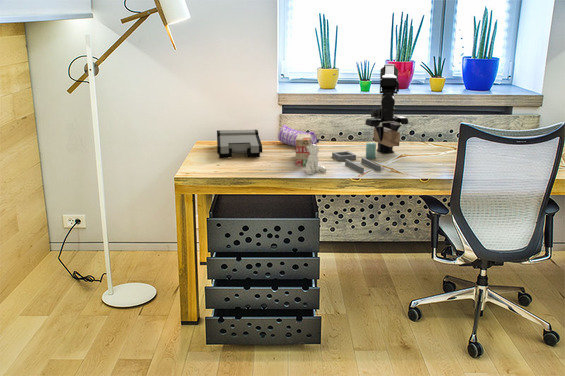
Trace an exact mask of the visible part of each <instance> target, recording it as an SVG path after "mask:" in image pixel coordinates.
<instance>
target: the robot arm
mask: <svg viewBox="0 0 565 376" xmlns="http://www.w3.org/2000/svg"><path fill="white" fill-rule="evenodd" d="M379 74H380V75H379V94H381V100H380V101H381V102H380V106H379V108H378V109H379V110H377V109H371V111H370V118H368V117H367V118H366V120H365V125H366V126H368V127H372V128H373V127H374V128H376V130H377V133H378V136H379V139H380V141H382V138H383V130H384V127H385V128H388V129H391V130H394V131H397V132H399V131H398V130H400V128H401V127H403V126H402V125H409V118H408V117H406V116H402V115H400V116H395V112H396V110H397V109H396V108H395V104H396V98H395V97H396V94H398V92H400V82H399V69H398V68H397V67H396V64H394V63H385V64H384V65H383V67H381V68H380V71H379ZM377 150H378V151H377V152H379V151H380V152H379V153H381V152H382V153H381V154H388V153H387V152H392V153H395V150H394V147H388V146H386V145H383V144H380V143H378V142H377Z"/></svg>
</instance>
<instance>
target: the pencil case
mask: <svg viewBox="0 0 565 376" xmlns="http://www.w3.org/2000/svg"><path fill="white" fill-rule="evenodd" d="M298 134H311V143H312V144H315V145H318V144H319V143H320V139H319V138H318V137H317V135H316V132H315V131H300V130H296V129H293V128H290V127H289V126H288V125H285V124H283V126H282V127H281V128H280V129H279V131H278V136H277V138H278V141H279V142H280V143H282V144H285V145H289V146H292V147H295V148H296V138H297V135H298Z"/></svg>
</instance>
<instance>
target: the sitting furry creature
mask: <svg viewBox="0 0 565 376" xmlns="http://www.w3.org/2000/svg"><path fill="white" fill-rule="evenodd" d="M306 147H307V149H309V153H310V155H309V156H308V161H307V163H306V166H305V174H306V175H311V174H315V173H316V174H317V173H324V174H326V173H327V168H325V166H322V165H320V164H319V156H318V154H319V152H320V149H319V148H320V145H319V146H318V144H316V145H315V144H312V145H310V147H309V146H306Z"/></svg>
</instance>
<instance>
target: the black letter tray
mask: <svg viewBox="0 0 565 376" xmlns="http://www.w3.org/2000/svg"><path fill="white" fill-rule="evenodd" d="M216 138H217V139H216V140H217V141H216V144H217V146H216V147H217V149H216V151H217V154H218V157H219V159H229V158H228V157H232V158H233V154H247V155H246V158H260V156H261V153H262V154H263V144H262V142H261V137H260V135H259V130H258V129H226V130H224V129H223V130H216Z"/></svg>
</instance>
